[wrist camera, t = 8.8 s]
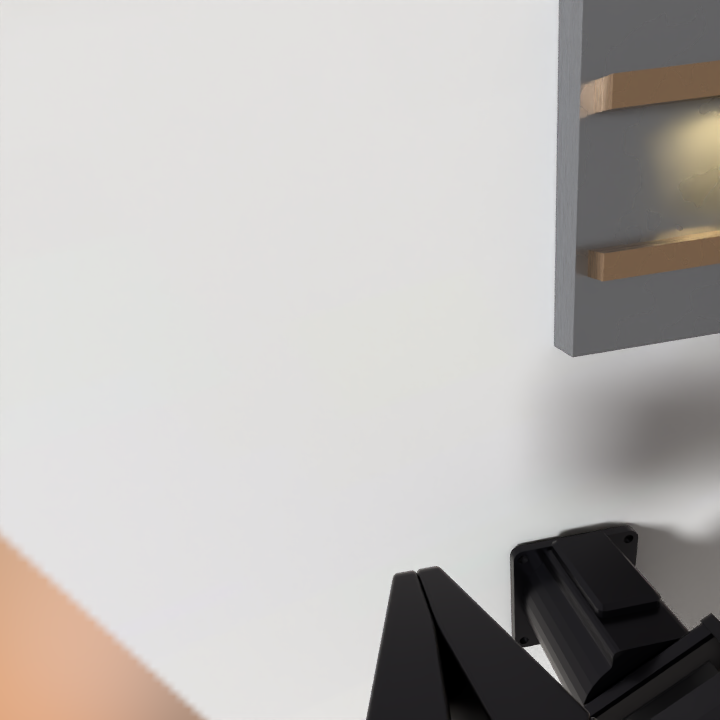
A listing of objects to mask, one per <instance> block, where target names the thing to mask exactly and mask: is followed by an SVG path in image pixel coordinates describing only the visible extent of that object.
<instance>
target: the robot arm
mask: <svg viewBox="0 0 720 720" xmlns="http://www.w3.org/2000/svg"><path fill="white" fill-rule="evenodd" d="M637 542H638V534H637V533H636V532H635V531H634V530H633V529H632V528H631V527H630V526H620V527H615V528H610V529H605V530H599V531H594V532H589V533H584V534H579V535H573V536H568V537H563V538H558V539H553V540H548V541H542V542H537V543H532V544H527V545H522V546H518V547H516V548H514V549H513V550H512V552H511V554H510V571H511V616H512V637H511V636H510V635H509V634H508V633H507V632H506V631H505V630H504V629H503V628H502V627H501V626H500V625H499V624H498V623H497V622H496V621H495V620H494V619H493V618H492V617H491V616H490V615H489V614H487V613H486V612H485V611H484V610H483V609H482V608H481V607H480V606H479V605H478V604H477V603H476V602H475V601H474V600H473V599H472V598H471V597H470V596H469V595H468V594H467V593H466V592H465V591H464V590H463V589H462V588H461V587H460V586H459V585H458V584H457V583H456V582H455V581H453V580H452V579H451V578H450V577H449V576H448V575H447V574H446V573H445V572H444V571H443V570H442V569H441V568H440V567H437V566H434V567H429V568H423V569H419V570H418V571H417V573H416V572H415V571H407V572H401V573H396V574H395V575H394V576H393V580H392V585H391V591H390V596H389V601H388V606H387V612H386V617H385V622H384V628H383V633H382V638H381V644H380V649H379V654H378V659H377V665H376V670H375V675H374V681H373V686H372V691H371V697H370V702H369V707H368V712H367V718H366V720H720V621H719V620H718V619H717V618H716V617H715V616H714V615H713V614H709V615H708V616H706V617H705V618H703V619H702V620H701V624H700V625H698V626H697V627H696V628H694V629H693V630H691V631H690V632H689V631H688V629H687V628H686V627H685V626H684V625H683V624H682V623H681V621H680V620H679V619H678V618H677V617H676V616H675V615H674V614H673V612H672V611H671V610H670V609H669V608H668V607H667V606H666V604H665V603H664V602H663V601H662V600H661V599H660V598H661V596H660V594H659V593H658V592H657V591H656V590H655V589H654V587H653V586H652V585H651V584H650V583H649V582H648V581H647V580H646V578H645V577H644V576H643V575H642V574H641V573H640V572H639V571H638V569H637V568H636V567H635V564H636V553H637ZM523 555H524V556H523ZM521 556H523V557H521ZM520 557H521V558H520ZM538 644H541V646H542V648H543V650H544V652H545V654H546V656H547V658H548V660H549V661H550V663H551V665H552V667H553V669H554V671H555V673H556V675H557V676H558V678H559V680H560V682H561V684H562V685H561V684H560V683H559V682H558V681H556V680H555V679H554V678H553V677H552V676H551V675H550V674H549V673H548V672H547V671H546V670H545V669H544V668H543V667H542V666H541V665H540V664H539V663H538V662H537V661H536V660H535V659H534V658H533V657H532V656H531V655H530V654H529V653H528V652H527V651H526V650H525V649H524V648H522V647H528V646H533V645H538Z"/></svg>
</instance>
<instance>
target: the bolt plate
mask: <svg viewBox="0 0 720 720" xmlns="http://www.w3.org/2000/svg"><path fill="white" fill-rule="evenodd" d="M716 333H720V0H559V57H558V124H557V191H556V257H555V324H554V346H555V347H557V348H558V349H560V350H562V351H563V352H565V353H567V354H568V355H570V356H571V357H577V356H583V355H589V354H595V353H601V352H607V351H613V350H619V349H625V348H631V347H638V346H644V345H650V344H656V343H662V342H668V341H674V340H680V339H686V338H692V337H698V336H704V335H710V334H716Z"/></svg>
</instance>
